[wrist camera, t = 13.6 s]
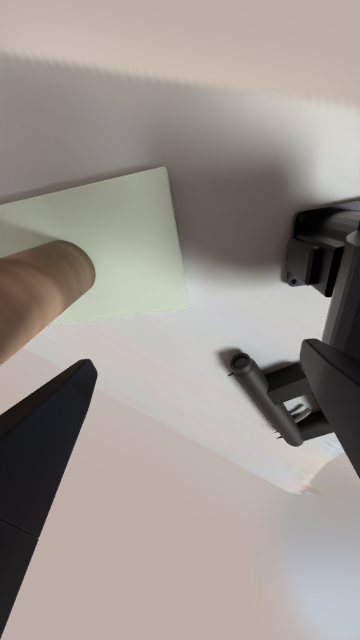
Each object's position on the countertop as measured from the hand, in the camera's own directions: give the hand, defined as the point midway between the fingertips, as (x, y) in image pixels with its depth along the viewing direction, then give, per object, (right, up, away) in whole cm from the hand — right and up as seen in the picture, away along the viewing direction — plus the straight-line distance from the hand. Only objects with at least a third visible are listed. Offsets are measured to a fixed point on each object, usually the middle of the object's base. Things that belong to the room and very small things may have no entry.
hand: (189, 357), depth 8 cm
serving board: (-9, +7, +12) cm, 17 cm away
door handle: (+17, -7, +19) cm, 27 cm away
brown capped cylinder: (-11, +7, +11) cm, 17 cm away
